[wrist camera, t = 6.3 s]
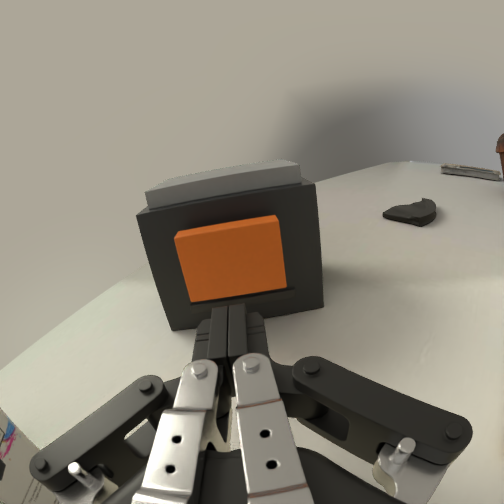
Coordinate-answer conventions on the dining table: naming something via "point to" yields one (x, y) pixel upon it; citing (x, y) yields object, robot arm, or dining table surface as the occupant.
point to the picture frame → (470, 171)
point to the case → (501, 150)
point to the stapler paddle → (232, 258)
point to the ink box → (19, 468)
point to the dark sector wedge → (413, 212)
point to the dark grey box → (228, 210)
